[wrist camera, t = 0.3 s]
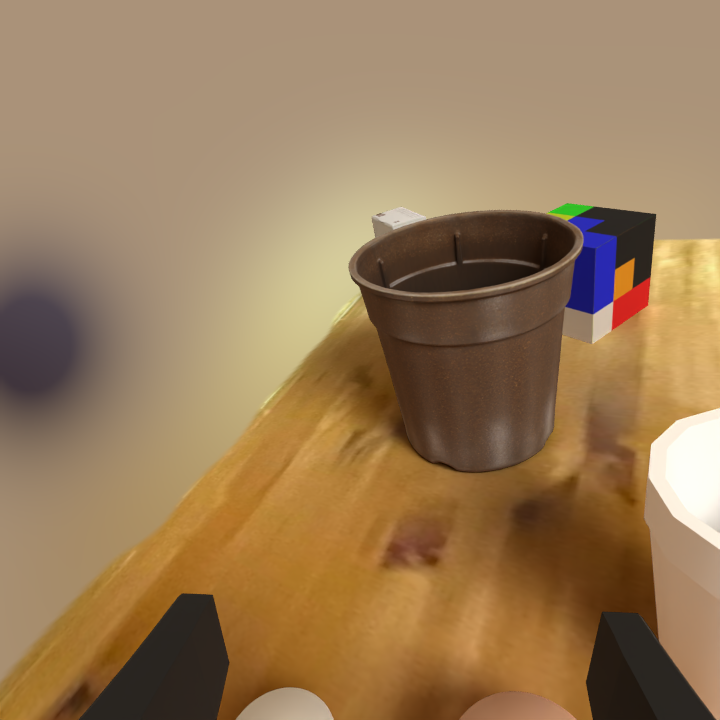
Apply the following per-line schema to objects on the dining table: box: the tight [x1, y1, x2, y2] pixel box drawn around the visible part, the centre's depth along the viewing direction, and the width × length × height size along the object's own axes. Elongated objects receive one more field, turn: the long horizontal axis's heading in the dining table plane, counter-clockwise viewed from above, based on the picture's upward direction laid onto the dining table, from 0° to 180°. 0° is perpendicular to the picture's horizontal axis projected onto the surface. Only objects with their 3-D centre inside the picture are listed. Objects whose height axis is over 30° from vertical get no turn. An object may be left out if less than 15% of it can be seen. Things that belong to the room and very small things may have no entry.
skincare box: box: [372, 207, 426, 238], centre depth 65 cm, size 6×4×12 cm
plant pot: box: [349, 210, 583, 472], centre depth 44 cm, size 16×16×16 cm
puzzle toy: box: [546, 203, 656, 344], centre depth 59 cm, size 10×10×10 cm
